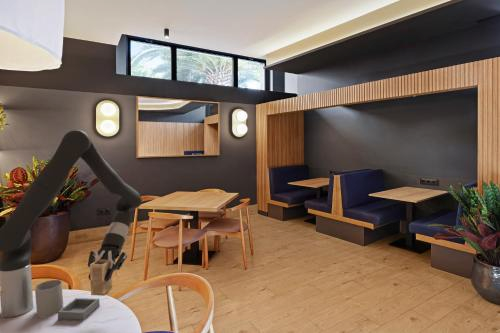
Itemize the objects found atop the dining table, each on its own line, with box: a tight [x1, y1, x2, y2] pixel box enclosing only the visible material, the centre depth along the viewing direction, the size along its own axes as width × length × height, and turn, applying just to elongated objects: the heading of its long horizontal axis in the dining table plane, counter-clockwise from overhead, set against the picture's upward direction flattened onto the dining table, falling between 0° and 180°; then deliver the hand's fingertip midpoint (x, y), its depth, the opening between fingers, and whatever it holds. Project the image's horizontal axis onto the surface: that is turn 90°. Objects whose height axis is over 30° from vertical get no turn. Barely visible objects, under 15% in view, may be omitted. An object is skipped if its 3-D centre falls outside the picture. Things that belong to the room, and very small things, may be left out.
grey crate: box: [57, 297, 101, 322], centre depth 110 cm, size 10×10×3 cm
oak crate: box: [89, 259, 113, 297], centre depth 106 cm, size 5×5×11 cm
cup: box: [34, 279, 64, 318], centre depth 112 cm, size 8×8×10 cm
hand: (98, 280), depth 104 cm, fingers closed on oak crate, 5 cm apart
